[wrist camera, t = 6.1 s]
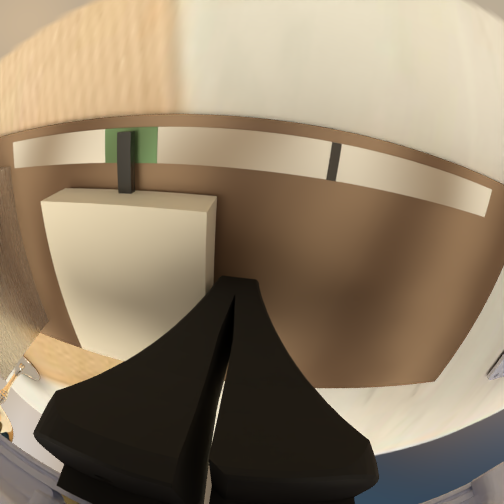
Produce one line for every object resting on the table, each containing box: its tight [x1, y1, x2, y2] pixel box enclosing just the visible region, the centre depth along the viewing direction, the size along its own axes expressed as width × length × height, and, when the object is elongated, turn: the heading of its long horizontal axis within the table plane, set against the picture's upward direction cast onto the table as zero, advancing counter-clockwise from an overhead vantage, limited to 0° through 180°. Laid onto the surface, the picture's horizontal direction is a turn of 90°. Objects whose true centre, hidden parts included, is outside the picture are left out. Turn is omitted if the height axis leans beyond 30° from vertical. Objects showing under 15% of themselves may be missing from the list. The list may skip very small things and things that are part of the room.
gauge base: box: [0, 114, 504, 388], centre depth 11 cm, size 26×12×1 cm, turn 84°
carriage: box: [41, 131, 217, 361], centre depth 9 cm, size 6×9×2 cm, turn 174°
